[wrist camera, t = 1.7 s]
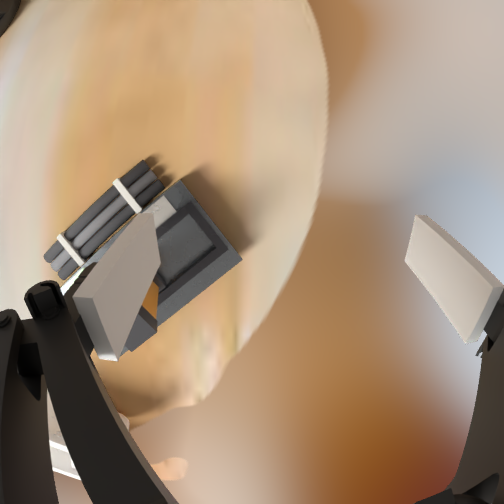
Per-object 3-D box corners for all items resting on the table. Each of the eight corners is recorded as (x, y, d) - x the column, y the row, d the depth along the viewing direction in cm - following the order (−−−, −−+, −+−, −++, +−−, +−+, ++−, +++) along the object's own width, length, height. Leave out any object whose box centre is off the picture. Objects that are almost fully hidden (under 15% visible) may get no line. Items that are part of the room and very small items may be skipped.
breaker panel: (118, 347, 38) (114, 364, 34) (59, 288, 33) (49, 300, 29) (237, 252, 39) (245, 262, 35) (179, 179, 34) (180, 180, 30)
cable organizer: (49, 419, 38) (35, 464, 27) (50, 382, 36) (30, 430, 25) (122, 443, 43) (120, 491, 32) (131, 411, 41) (129, 464, 30)
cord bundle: (67, 278, 33) (63, 283, 32) (45, 252, 32) (40, 255, 30) (166, 188, 34) (165, 189, 32) (142, 158, 32) (141, 157, 31)
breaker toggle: (139, 304, 34) (130, 357, 23) (115, 278, 32) (93, 324, 22) (166, 282, 34) (164, 330, 23) (141, 255, 32) (128, 294, 22)
